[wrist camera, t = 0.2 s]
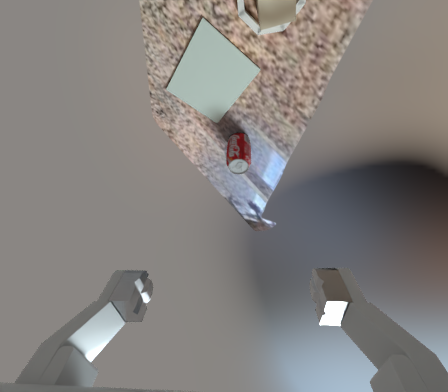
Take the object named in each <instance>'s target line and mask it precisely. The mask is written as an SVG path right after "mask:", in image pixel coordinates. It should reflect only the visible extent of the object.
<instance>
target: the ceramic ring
mask: <svg viewBox="0 0 448 392" xmlns="http://www.w3.org/2000/svg"><path fill="white" fill-rule="evenodd" d="M305 2H306V0H296V15H297V13H298V12H299V11H300V9H301V8H302V7H303V6H304V4H305ZM237 4H238V16H239V17H240V18H241V19H242V20H243V21H244V22H245V23H246V24H247V25H248V26H249V27H250V28H251V29H252V30H253V31H254V32H255V33H256V34H257V35H261V34H267V33H273V32H279V31H284V30H285V29H286V27H287V26H288V25H289V23H290V22H289V23H285V24H282V25H278V26H275V27H271V28H267V29H264V30H260V24H259V23H258V22H257V21H256V20H255V19H254V18H253V17H252V16H251V15H250V14H249V13H248V12H247V11H246V10H245V9H244V0H237Z"/></svg>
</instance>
